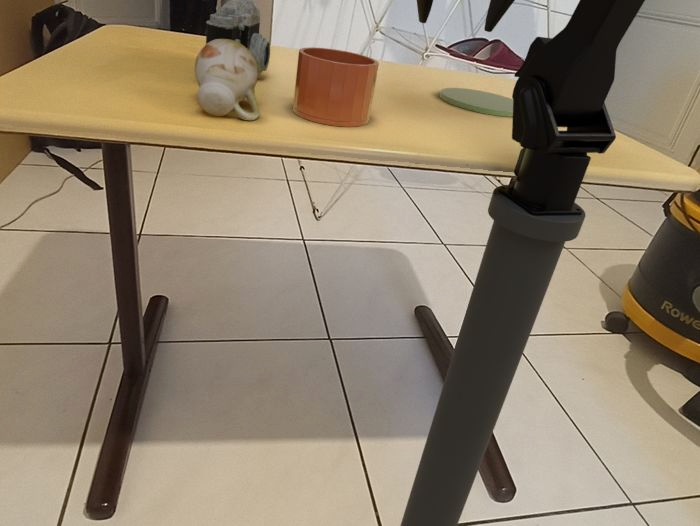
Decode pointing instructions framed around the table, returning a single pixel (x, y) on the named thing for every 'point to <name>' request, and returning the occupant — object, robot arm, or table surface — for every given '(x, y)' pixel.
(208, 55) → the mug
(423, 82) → the table surface
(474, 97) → the plate
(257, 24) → the camera
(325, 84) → the cup
